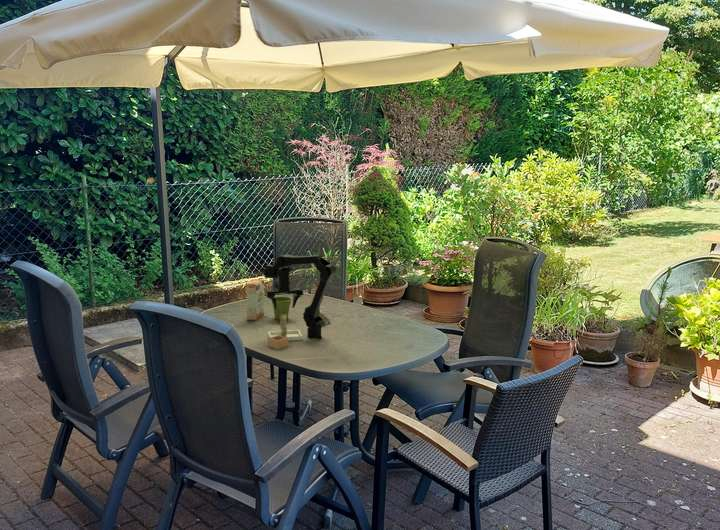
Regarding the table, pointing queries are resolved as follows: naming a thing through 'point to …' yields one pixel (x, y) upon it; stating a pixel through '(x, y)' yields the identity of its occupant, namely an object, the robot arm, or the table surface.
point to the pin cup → (278, 342)
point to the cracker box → (255, 299)
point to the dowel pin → (283, 325)
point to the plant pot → (282, 306)
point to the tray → (288, 334)
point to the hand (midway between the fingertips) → (284, 309)
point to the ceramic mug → (323, 316)
